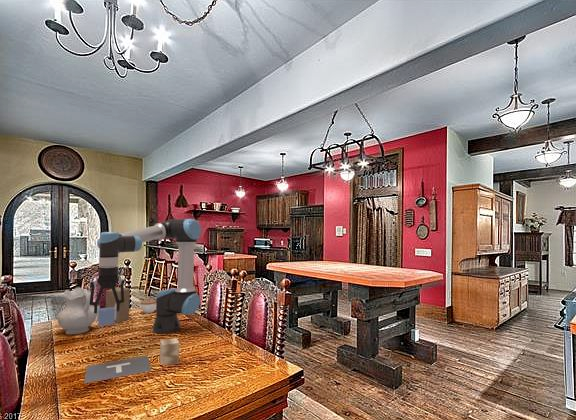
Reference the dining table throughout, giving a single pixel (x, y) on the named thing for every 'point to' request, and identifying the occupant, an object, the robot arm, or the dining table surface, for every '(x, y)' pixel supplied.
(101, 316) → the blue cube
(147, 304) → the lidded jar
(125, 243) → the robot arm
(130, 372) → the board
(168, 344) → the maple block
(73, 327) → the ceramic pitcher
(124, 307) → the wooden block
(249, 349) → the dining table surface
